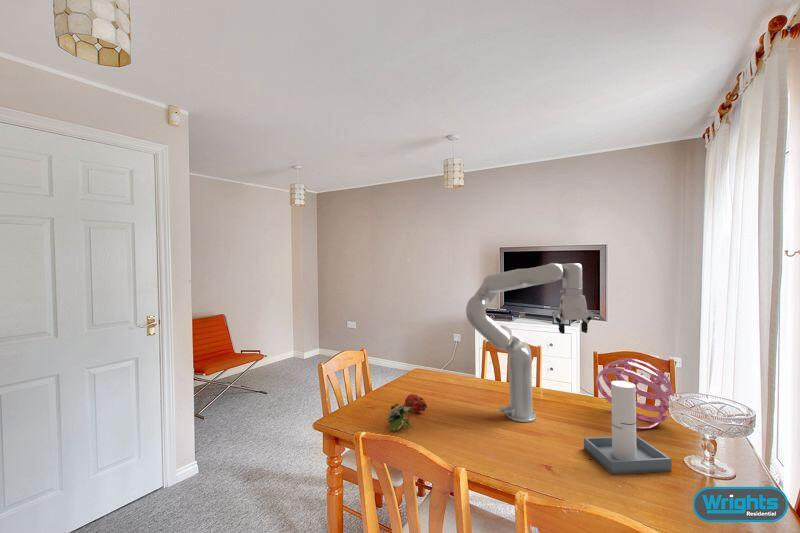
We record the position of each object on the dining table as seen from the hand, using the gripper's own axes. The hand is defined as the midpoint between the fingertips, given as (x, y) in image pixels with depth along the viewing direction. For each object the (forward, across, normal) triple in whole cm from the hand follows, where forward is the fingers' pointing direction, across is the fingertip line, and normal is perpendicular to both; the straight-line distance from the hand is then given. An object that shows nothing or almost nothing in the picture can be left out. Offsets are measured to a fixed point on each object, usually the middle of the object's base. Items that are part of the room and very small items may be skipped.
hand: (573, 332), depth 153 cm
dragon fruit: (+39, -66, +18) cm, 79 cm away
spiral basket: (+38, +26, -2) cm, 47 cm away
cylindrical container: (+37, +2, -29) cm, 47 cm away
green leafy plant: (+39, -74, +3) cm, 83 cm away
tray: (+38, +2, -29) cm, 48 cm away
